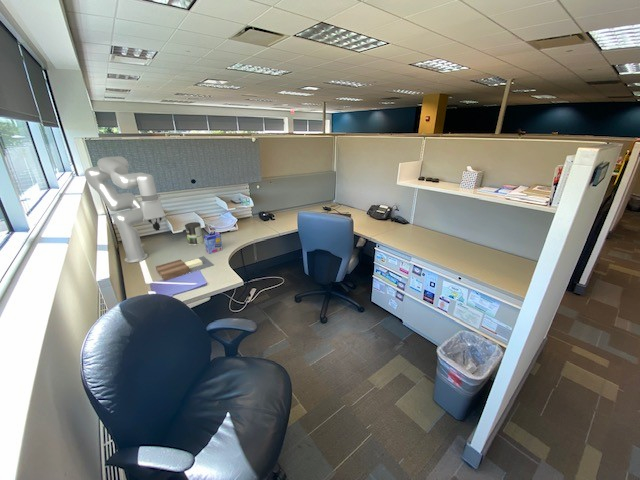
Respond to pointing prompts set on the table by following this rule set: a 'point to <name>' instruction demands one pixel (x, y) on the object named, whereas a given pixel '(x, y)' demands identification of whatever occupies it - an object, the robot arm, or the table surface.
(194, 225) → the coffee can
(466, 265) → the table surface
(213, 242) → the ink cartridge box
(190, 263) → the notepad
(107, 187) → the robot arm
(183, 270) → the block
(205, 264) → the mat
